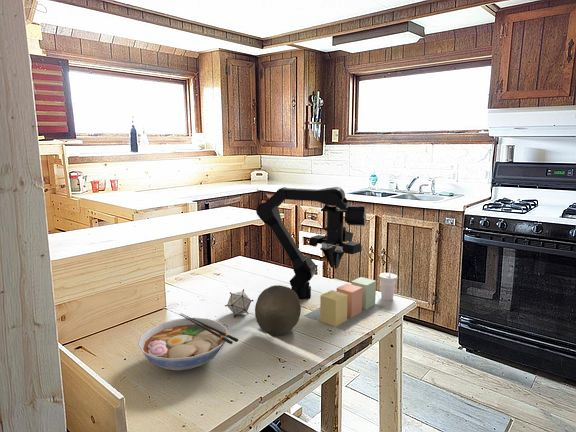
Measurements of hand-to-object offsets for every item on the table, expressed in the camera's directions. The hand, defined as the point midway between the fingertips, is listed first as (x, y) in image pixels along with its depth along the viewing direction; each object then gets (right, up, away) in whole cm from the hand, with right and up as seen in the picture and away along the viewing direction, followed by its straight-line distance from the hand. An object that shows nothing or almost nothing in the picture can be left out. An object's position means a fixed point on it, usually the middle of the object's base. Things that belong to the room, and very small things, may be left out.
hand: (334, 268), depth 147 cm
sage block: (+10, -12, -2) cm, 16 cm away
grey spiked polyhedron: (-32, -15, -6) cm, 36 cm away
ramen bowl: (-43, -21, -36) cm, 60 cm away
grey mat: (+3, -15, -7) cm, 16 cm away
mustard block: (-2, -15, -14) cm, 21 cm away
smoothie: (+19, -13, +4) cm, 23 cm away
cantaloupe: (-19, -18, -21) cm, 33 cm away
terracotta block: (+4, -14, -8) cm, 16 cm away
